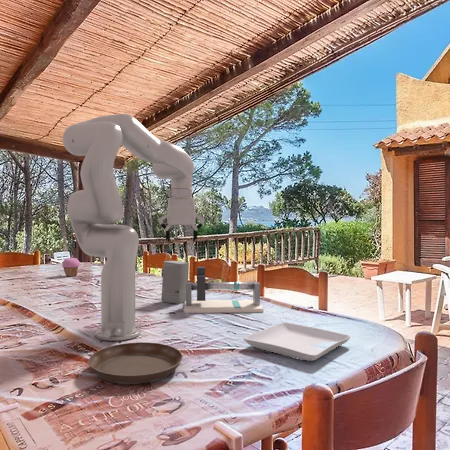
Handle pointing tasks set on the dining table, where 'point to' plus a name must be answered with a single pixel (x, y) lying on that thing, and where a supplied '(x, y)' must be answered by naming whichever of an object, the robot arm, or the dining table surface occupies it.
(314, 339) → the salad plate
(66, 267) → the cupcake
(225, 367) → the dining table surface
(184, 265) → the skincare box
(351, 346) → the dining table surface
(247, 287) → the rail
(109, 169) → the robot arm
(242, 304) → the board
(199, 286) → the collar
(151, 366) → the plant saucer
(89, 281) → the dining table surface
